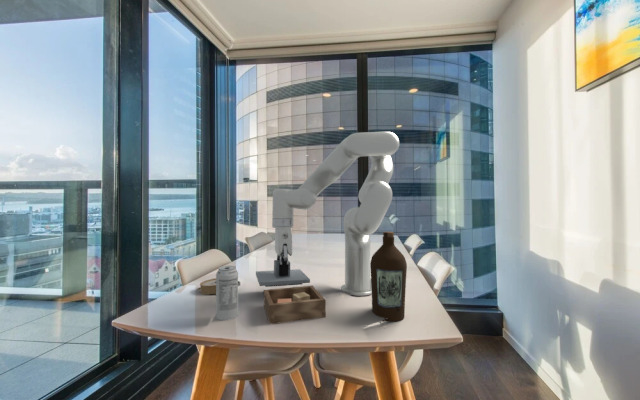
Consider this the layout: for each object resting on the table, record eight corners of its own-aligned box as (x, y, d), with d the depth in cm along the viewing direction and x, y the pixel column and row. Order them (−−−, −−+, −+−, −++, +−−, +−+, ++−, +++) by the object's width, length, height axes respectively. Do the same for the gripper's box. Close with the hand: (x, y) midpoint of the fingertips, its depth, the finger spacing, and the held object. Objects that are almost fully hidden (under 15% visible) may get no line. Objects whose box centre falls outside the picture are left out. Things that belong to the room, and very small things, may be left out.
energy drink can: (237, 314, 88) (238, 264, 88) (237, 322, 82) (238, 269, 82) (216, 316, 86) (216, 265, 86) (215, 324, 81) (215, 270, 81)
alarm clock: (208, 278, 118) (243, 272, 116) (210, 290, 118) (245, 285, 116) (193, 286, 106) (232, 280, 105) (195, 300, 106) (235, 294, 105)
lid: (299, 274, 115) (300, 256, 115) (309, 285, 101) (310, 264, 101) (255, 277, 110) (256, 258, 110) (259, 289, 96) (260, 267, 96)
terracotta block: (291, 311, 88) (291, 298, 88) (291, 317, 84) (291, 303, 84) (277, 312, 87) (277, 299, 87) (277, 317, 83) (277, 303, 83)
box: (312, 303, 97) (312, 285, 97) (325, 320, 84) (325, 299, 84) (263, 308, 92) (263, 289, 92) (269, 327, 79) (269, 305, 79)
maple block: (303, 304, 94) (303, 292, 94) (310, 308, 90) (310, 295, 90) (292, 306, 92) (292, 294, 92) (298, 311, 88) (298, 297, 88)
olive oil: (369, 307, 94) (370, 229, 93) (403, 309, 92) (404, 230, 92) (370, 321, 83) (371, 233, 83) (409, 324, 82) (409, 234, 81)
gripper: (298, 225, 98) (297, 279, 98) (288, 221, 114) (287, 267, 114) (276, 225, 96) (275, 280, 96) (269, 221, 112) (268, 268, 112)
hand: (282, 273), depth 105 cm, fingers closed on lid, 5 cm apart
